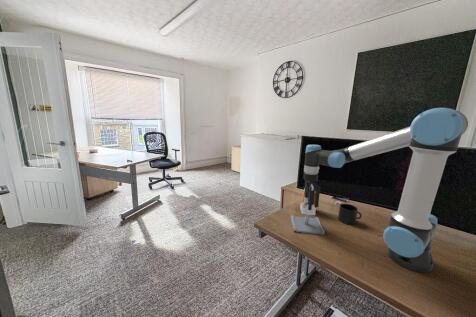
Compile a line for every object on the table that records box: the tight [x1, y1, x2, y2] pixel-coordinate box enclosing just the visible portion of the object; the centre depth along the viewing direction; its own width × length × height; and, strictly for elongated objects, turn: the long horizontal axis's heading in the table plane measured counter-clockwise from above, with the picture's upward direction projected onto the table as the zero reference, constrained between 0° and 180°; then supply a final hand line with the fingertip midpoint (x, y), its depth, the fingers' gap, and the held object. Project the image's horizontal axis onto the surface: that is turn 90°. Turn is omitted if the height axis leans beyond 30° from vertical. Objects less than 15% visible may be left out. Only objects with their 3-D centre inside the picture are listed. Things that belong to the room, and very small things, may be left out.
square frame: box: [299, 201, 317, 216], centre depth 110 cm, size 7×7×4 cm
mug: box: [337, 203, 363, 225], centre depth 116 cm, size 9×12×9 cm
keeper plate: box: [290, 214, 326, 236], centre depth 111 cm, size 16×16×9 cm
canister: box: [301, 182, 322, 209], centre depth 128 cm, size 9×11×20 cm
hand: (307, 211), depth 110 cm, fingers closed on square frame, 7 cm apart
